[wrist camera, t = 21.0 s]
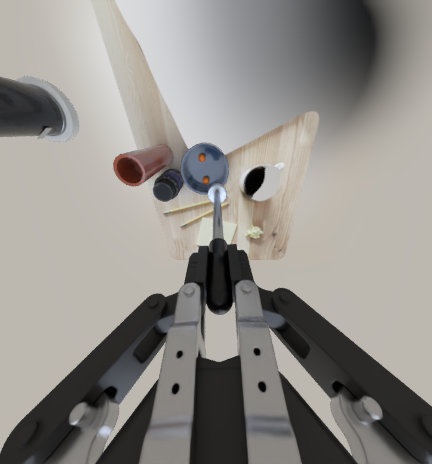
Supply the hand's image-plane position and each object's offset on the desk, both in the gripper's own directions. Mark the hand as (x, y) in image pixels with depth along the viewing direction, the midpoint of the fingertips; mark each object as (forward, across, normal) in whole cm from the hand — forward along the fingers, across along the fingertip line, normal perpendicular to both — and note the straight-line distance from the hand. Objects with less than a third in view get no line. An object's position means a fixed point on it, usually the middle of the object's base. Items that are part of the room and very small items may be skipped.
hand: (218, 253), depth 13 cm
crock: (+37, +14, -4) cm, 40 cm away
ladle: (+15, 0, 0) cm, 15 cm away
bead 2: (+35, +3, +3) cm, 36 cm away
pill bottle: (+37, +13, +3) cm, 39 cm away
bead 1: (+35, +4, -3) cm, 36 cm away
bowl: (+37, +3, 0) cm, 37 cm away
